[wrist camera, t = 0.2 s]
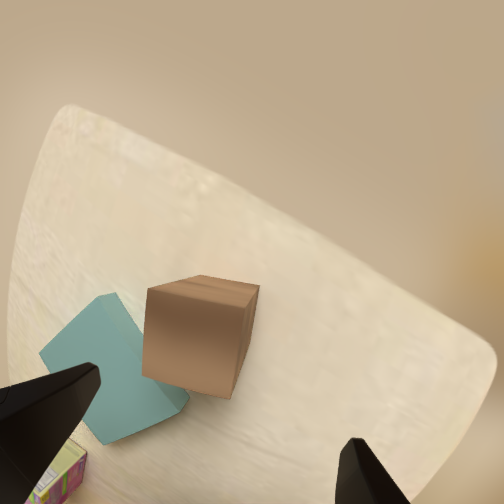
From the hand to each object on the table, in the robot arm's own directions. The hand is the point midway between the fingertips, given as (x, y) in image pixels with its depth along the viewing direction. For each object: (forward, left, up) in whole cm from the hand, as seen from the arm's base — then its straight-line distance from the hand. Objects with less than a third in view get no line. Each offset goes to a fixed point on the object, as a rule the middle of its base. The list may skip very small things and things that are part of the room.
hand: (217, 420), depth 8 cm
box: (-36, -4, -15) cm, 39 cm away
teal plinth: (-16, +3, -15) cm, 22 cm away
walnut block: (-2, +2, -15) cm, 15 cm away
